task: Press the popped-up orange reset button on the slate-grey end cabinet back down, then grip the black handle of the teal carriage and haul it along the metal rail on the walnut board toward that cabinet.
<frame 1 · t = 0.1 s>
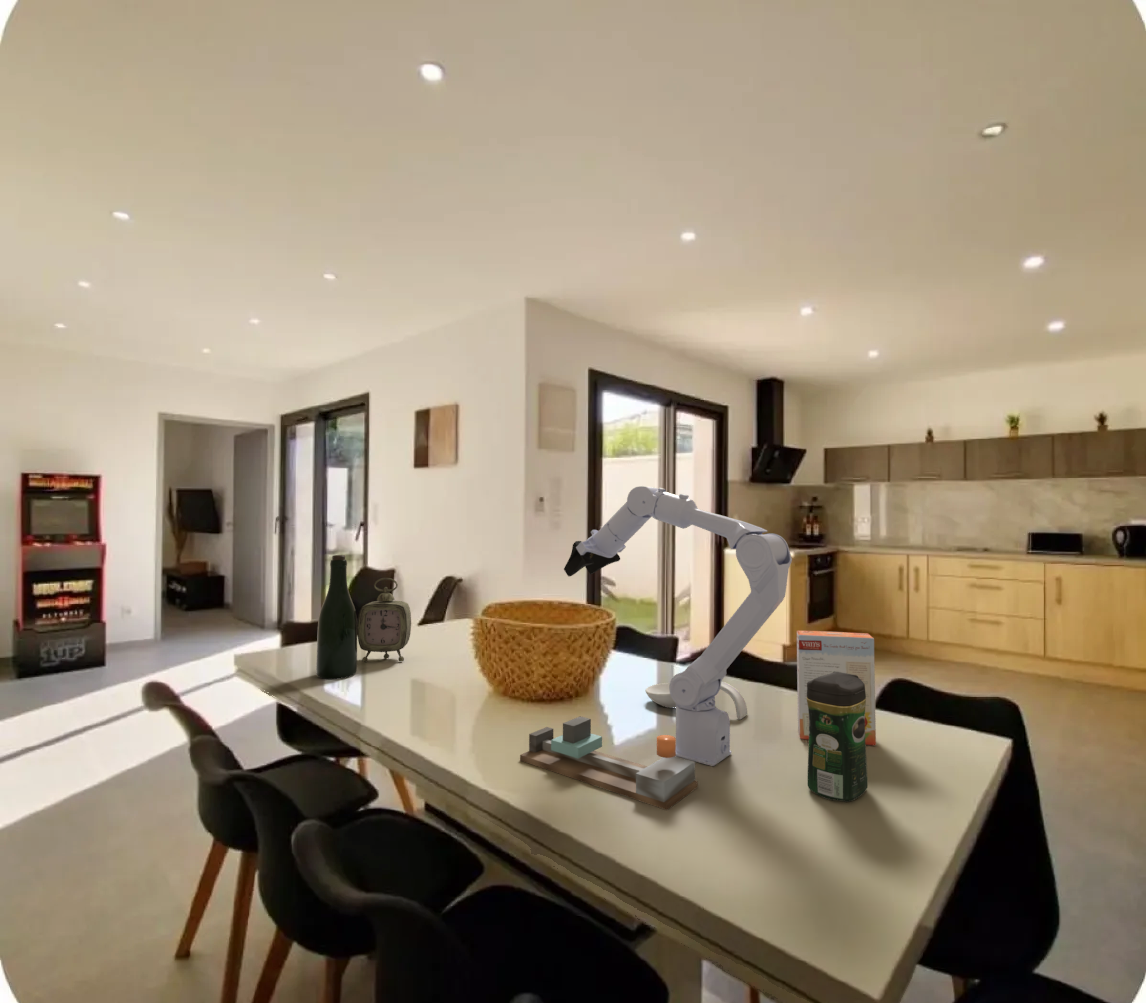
hand: (577, 571, 132), 32 cm above the table, tool tilted 50°, fingers open, 7 cm apart
carriage: (576, 734, 109), point 5 cm above the table, slide at 4.0 cm
green wine bottle: (336, 675, 170), on the table
rail board: (594, 770, 107), on the table
tabletop clock: (385, 660, 188), on the table
cracker box: (835, 739, 123), on the table
spoon rest: (694, 710, 142), on the table
coffee jar: (836, 792, 99), on the table
reset button: (666, 746, 98), point 7 cm above the table, slide at 2.0 cm
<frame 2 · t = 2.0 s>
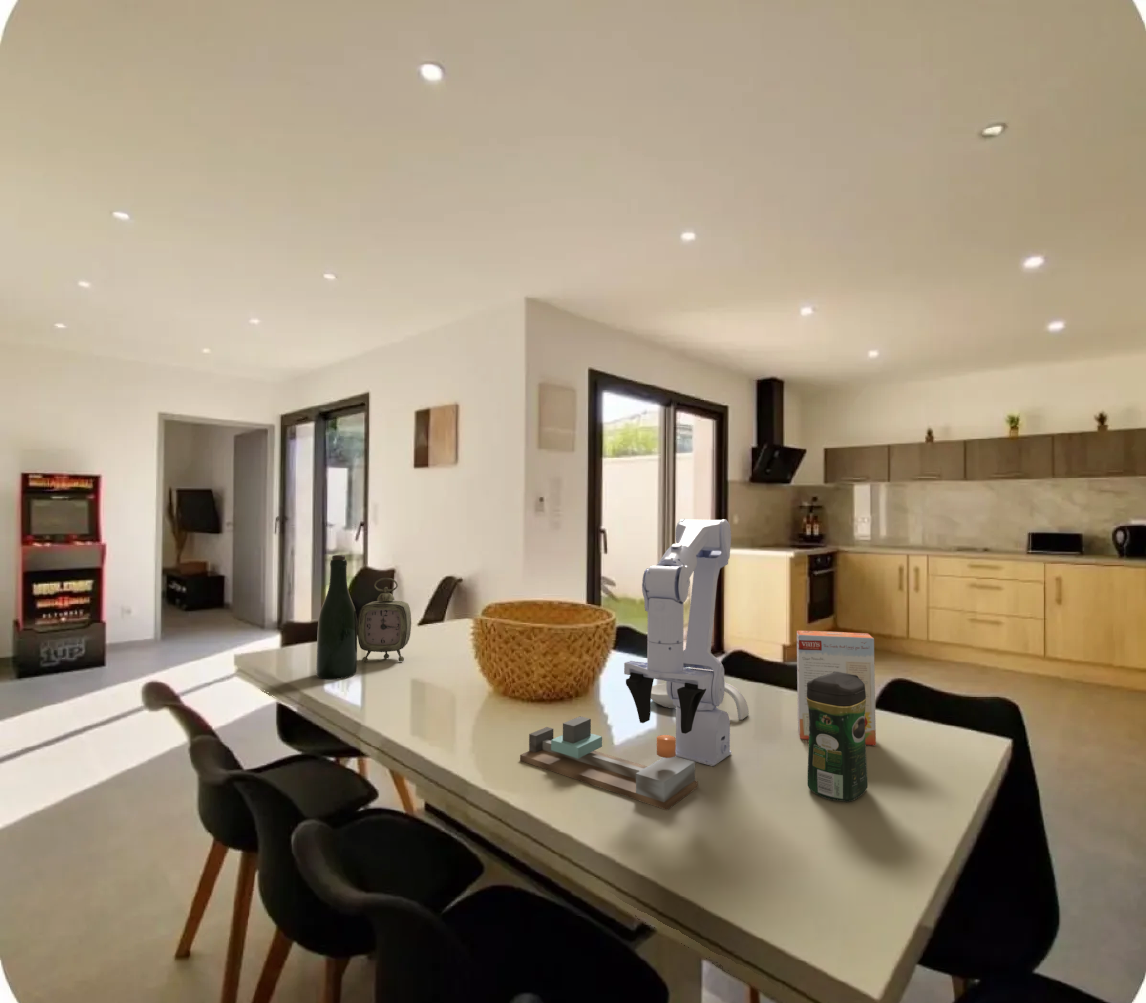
hand: (665, 726, 98), 10 cm above the table, tool pointing down, fingers open, 7 cm apart
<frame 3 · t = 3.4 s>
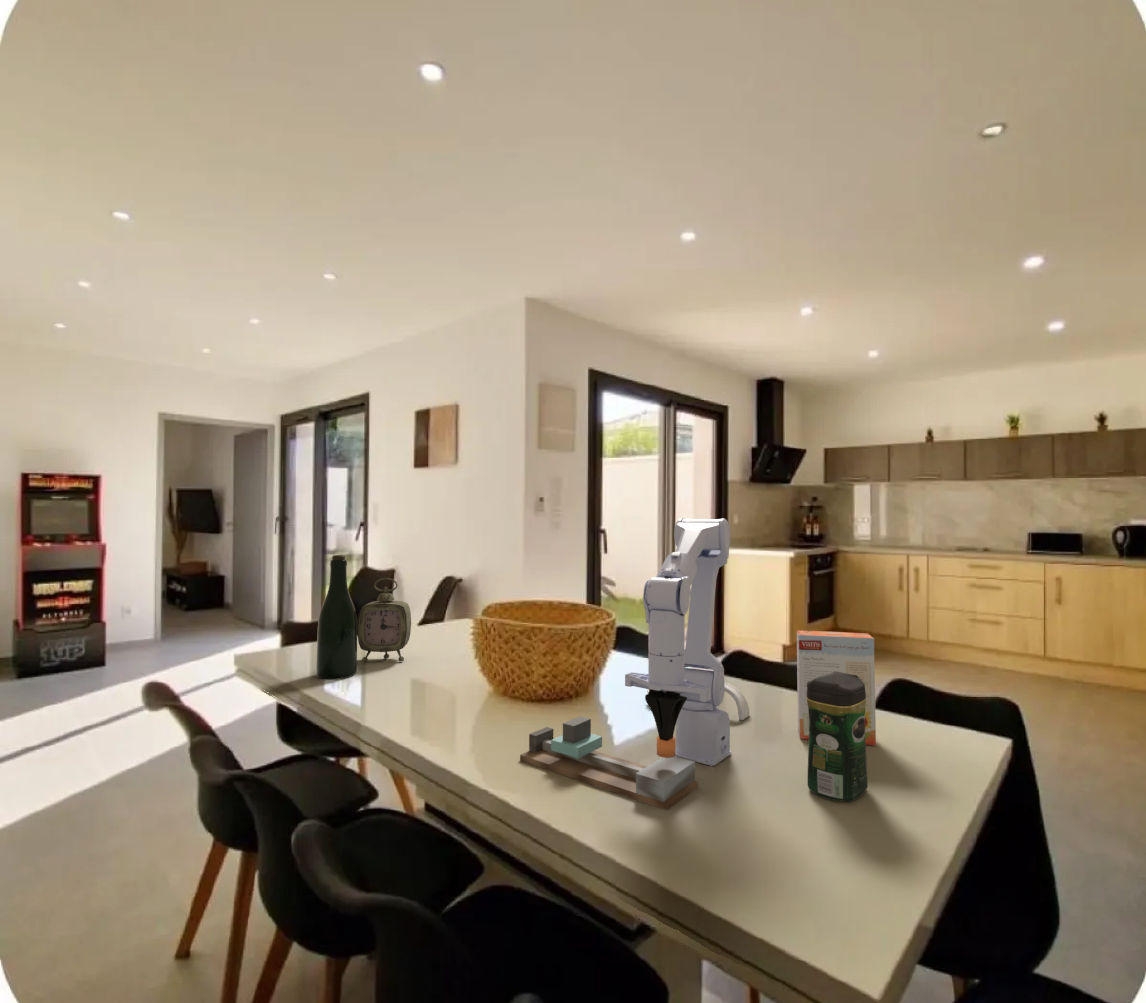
hand: (666, 738, 98), 9 cm above the table, tool pointing down, fingers closed, pressing on reset button
reset button: (666, 746, 98), point 7 cm above the table, slide at 2.0 cm, touching gripper
everything else where it was.
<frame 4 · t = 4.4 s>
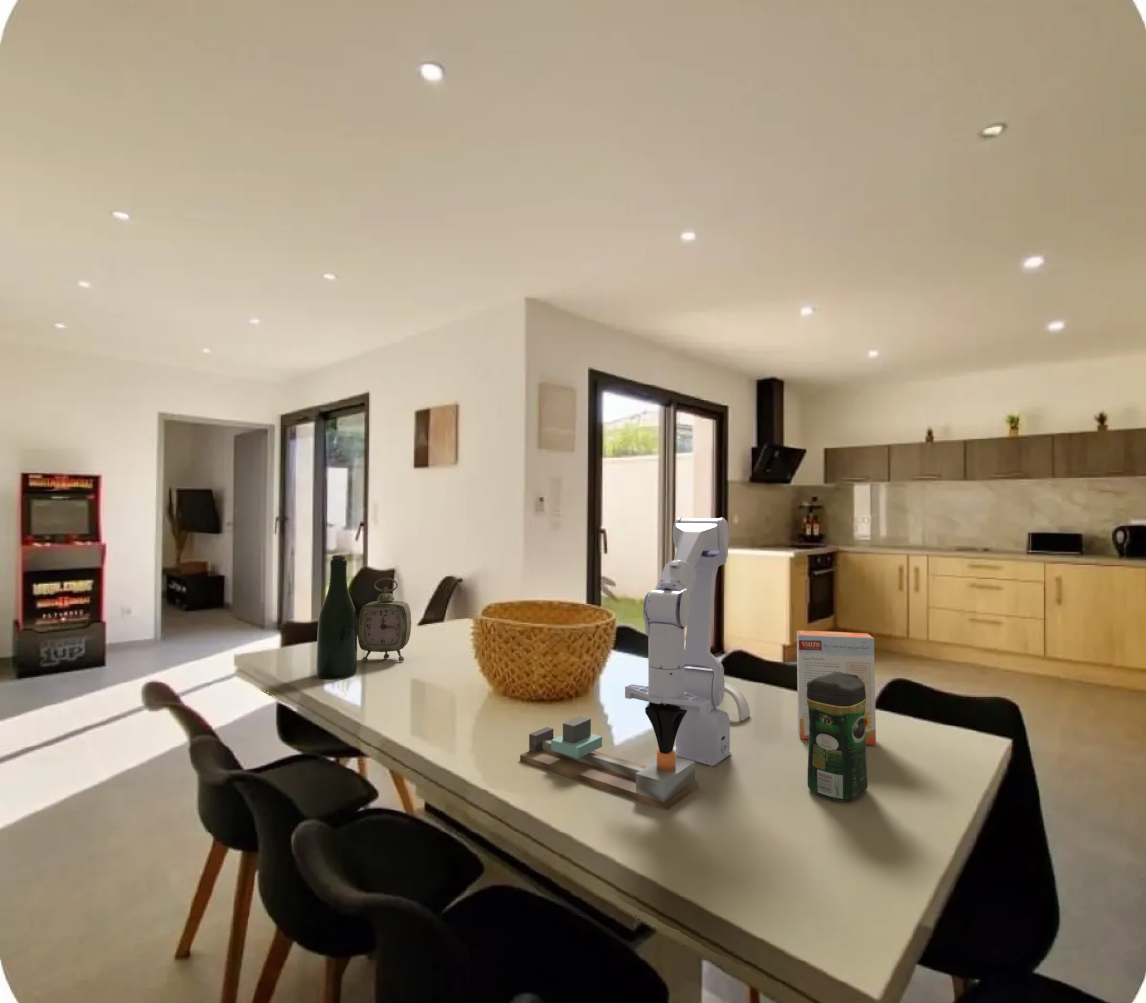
hand: (666, 751, 98), 7 cm above the table, tool pointing down, fingers closed
reset button: (666, 759, 98), point 5 cm above the table, slide at -0.1 cm, touching rail board
everything else where it was.
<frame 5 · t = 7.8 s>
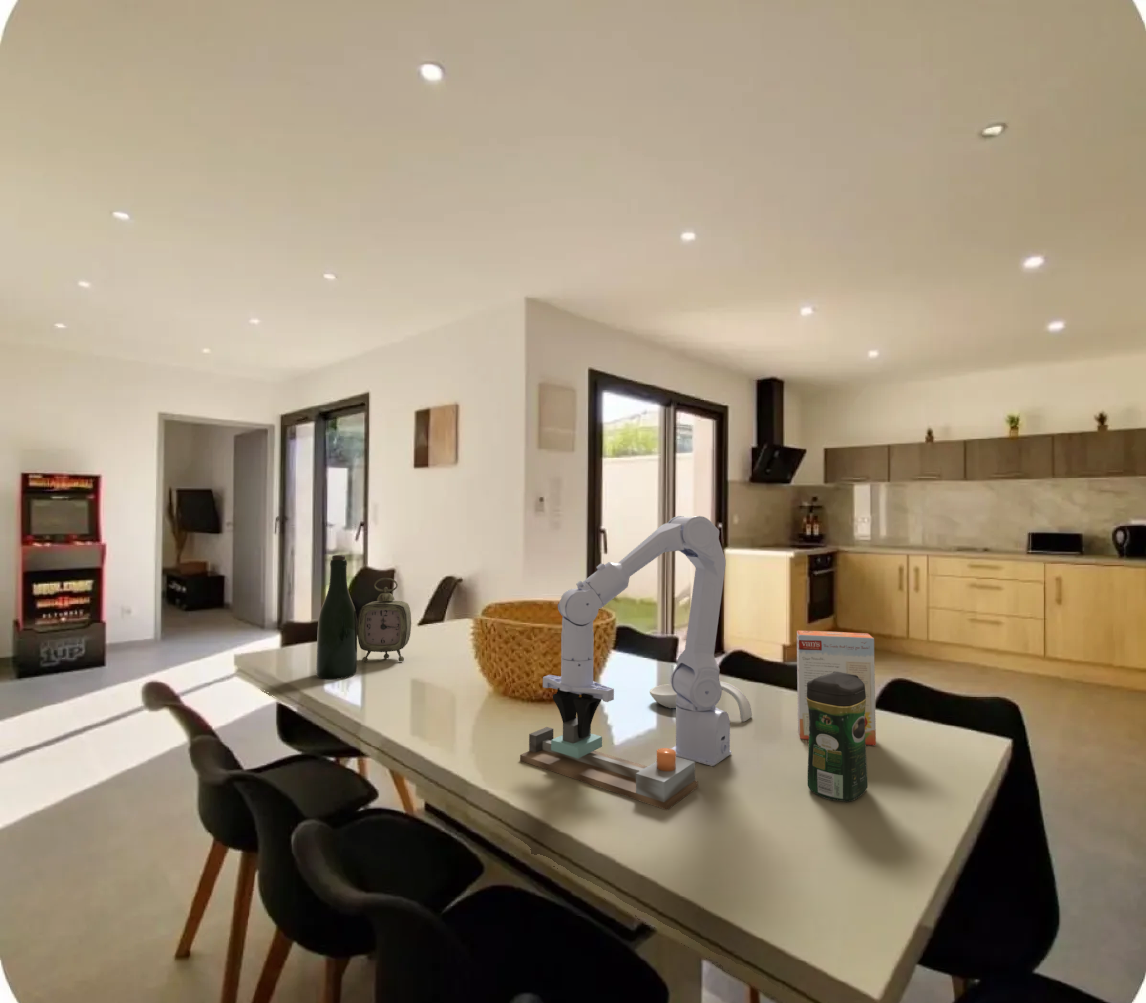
hand: (576, 734, 109), 5 cm above the table, tool pointing down, fingers closed on carriage, 2 cm apart
carriage: (576, 734, 109), point 5 cm above the table, slide at 4.0 cm, touching gripper
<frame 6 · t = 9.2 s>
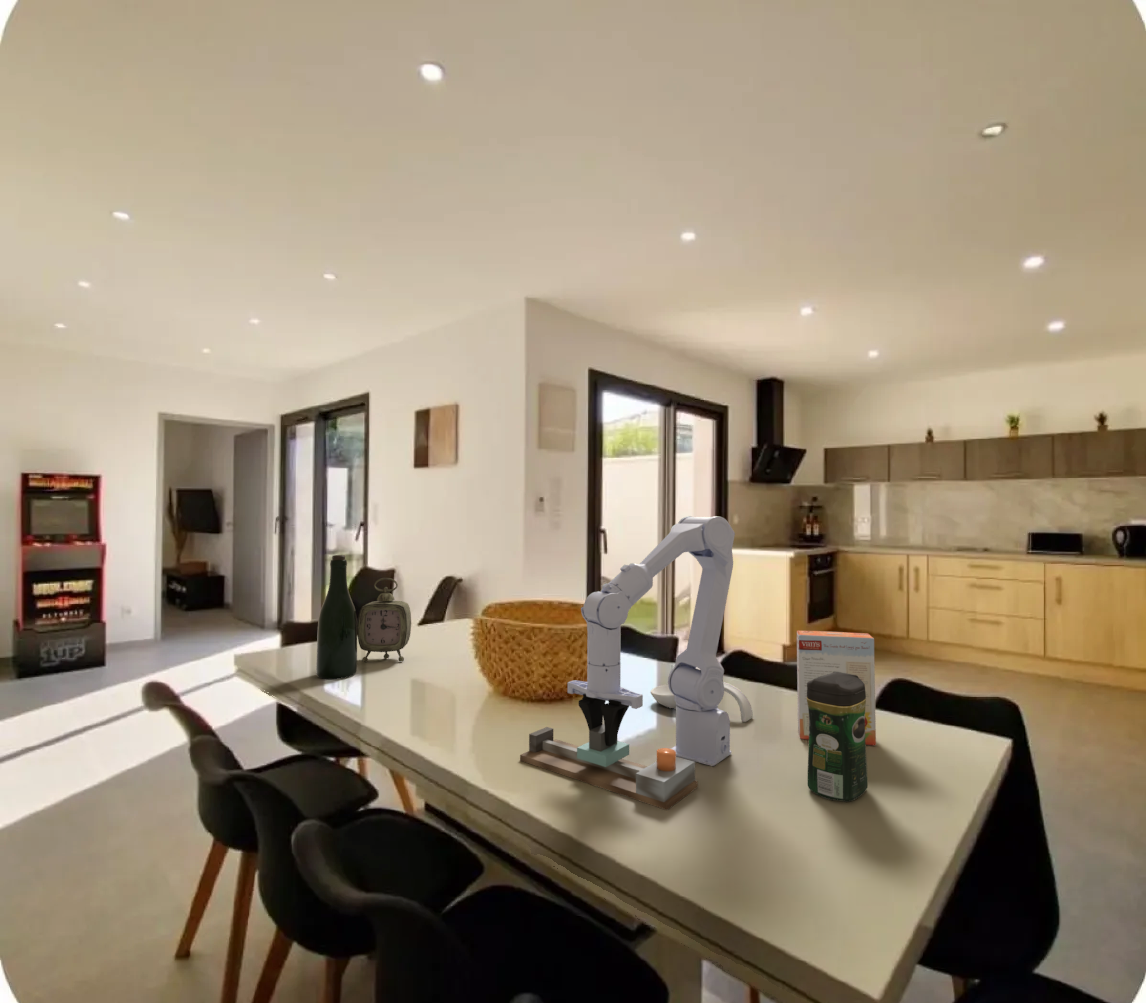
hand: (603, 742, 106), 5 cm above the table, tool pointing down, fingers closed on carriage, 2 cm apart
carriage: (603, 742, 106), point 5 cm above the table, slide at -1.8 cm, touching gripper
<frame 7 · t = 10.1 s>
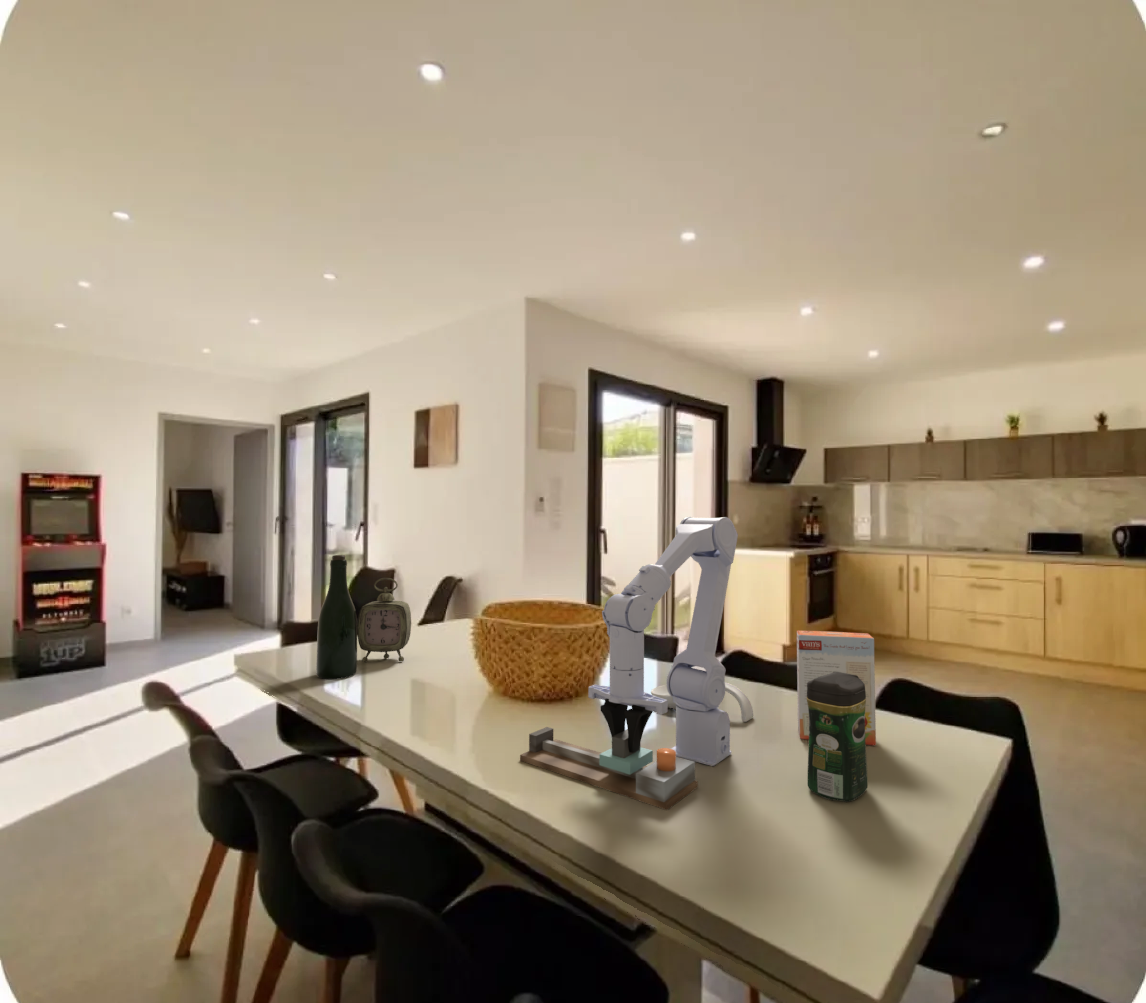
hand: (626, 748, 103), 5 cm above the table, tool pointing down, fingers closed on carriage, 2 cm apart
carriage: (626, 748, 103), point 5 cm above the table, slide at -6.4 cm, touching gripper
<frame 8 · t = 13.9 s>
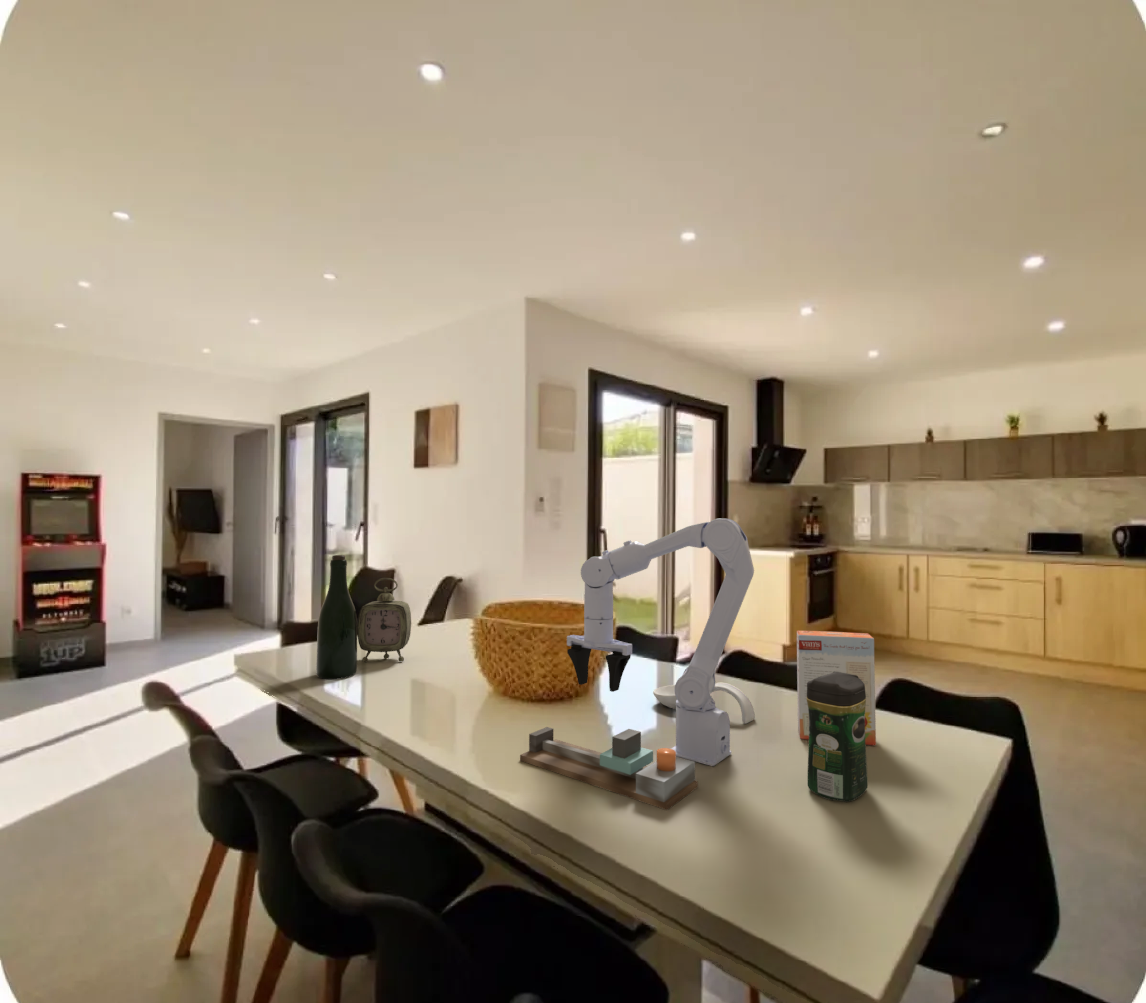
hand: (598, 687, 121), 10 cm above the table, tool pointing down, fingers open, 7 cm apart
carriage: (626, 748, 103), point 5 cm above the table, slide at -6.5 cm
at the end: reset button slide at -0.1 cm; carriage slide at -6.5 cm; the gripper is holding nothing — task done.
